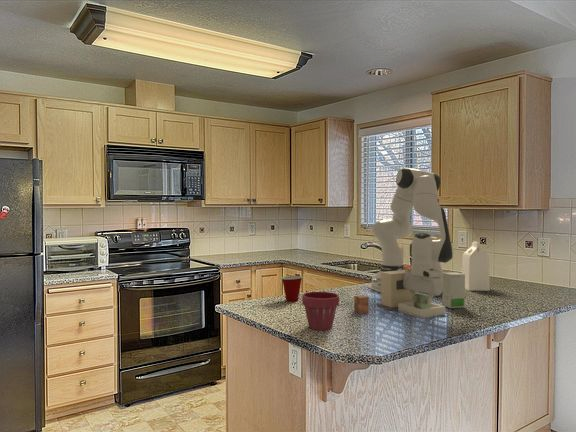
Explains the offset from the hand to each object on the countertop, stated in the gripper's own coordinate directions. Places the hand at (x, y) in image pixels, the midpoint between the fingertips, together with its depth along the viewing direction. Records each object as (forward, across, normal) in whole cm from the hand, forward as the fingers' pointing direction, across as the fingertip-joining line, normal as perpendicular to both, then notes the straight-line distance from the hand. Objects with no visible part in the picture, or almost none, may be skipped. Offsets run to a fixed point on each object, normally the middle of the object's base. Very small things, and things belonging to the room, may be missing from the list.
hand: (421, 302), depth 203 cm
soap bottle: (+5, -33, +40) cm, 52 cm away
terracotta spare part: (+5, -14, -22) cm, 27 cm away
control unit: (+5, -14, 0) cm, 15 cm away
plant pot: (+5, -2, -51) cm, 51 cm away
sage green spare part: (+4, 0, 0) cm, 4 cm away
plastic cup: (+5, -49, -38) cm, 62 cm away
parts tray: (+5, 0, 0) cm, 5 cm away
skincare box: (+5, -2, +22) cm, 23 cm away
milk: (+5, -27, +67) cm, 72 cm away
